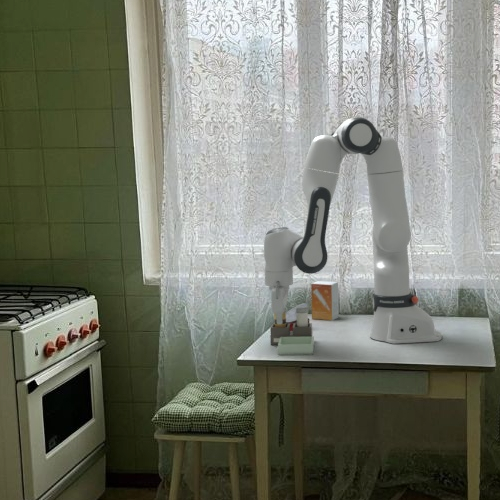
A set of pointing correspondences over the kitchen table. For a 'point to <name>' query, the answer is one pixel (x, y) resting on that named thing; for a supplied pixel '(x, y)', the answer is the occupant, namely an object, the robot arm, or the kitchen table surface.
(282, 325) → the fuse
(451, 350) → the kitchen table surface
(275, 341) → the fuse block
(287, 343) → the parts tray
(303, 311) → the cylinder
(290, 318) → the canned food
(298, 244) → the robot arm
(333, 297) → the small box
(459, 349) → the kitchen table surface
